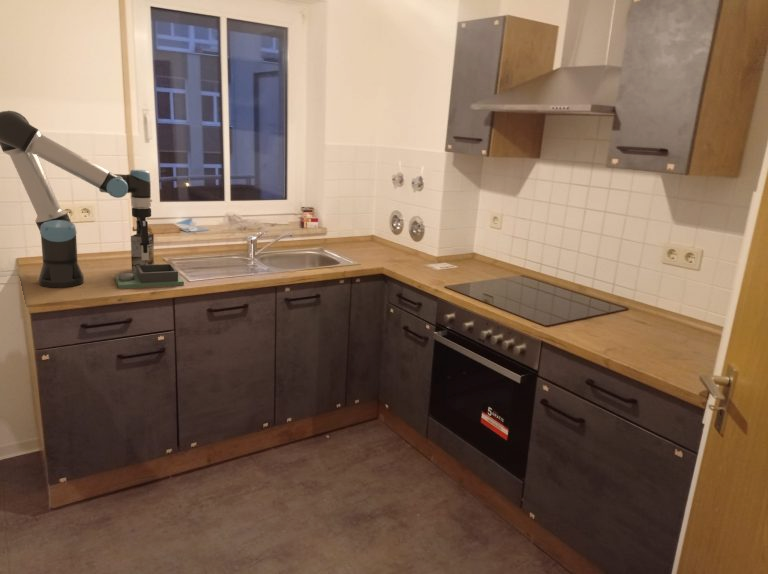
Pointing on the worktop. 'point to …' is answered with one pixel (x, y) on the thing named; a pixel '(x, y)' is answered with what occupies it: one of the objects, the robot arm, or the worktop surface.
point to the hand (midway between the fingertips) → (143, 256)
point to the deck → (150, 277)
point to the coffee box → (136, 251)
